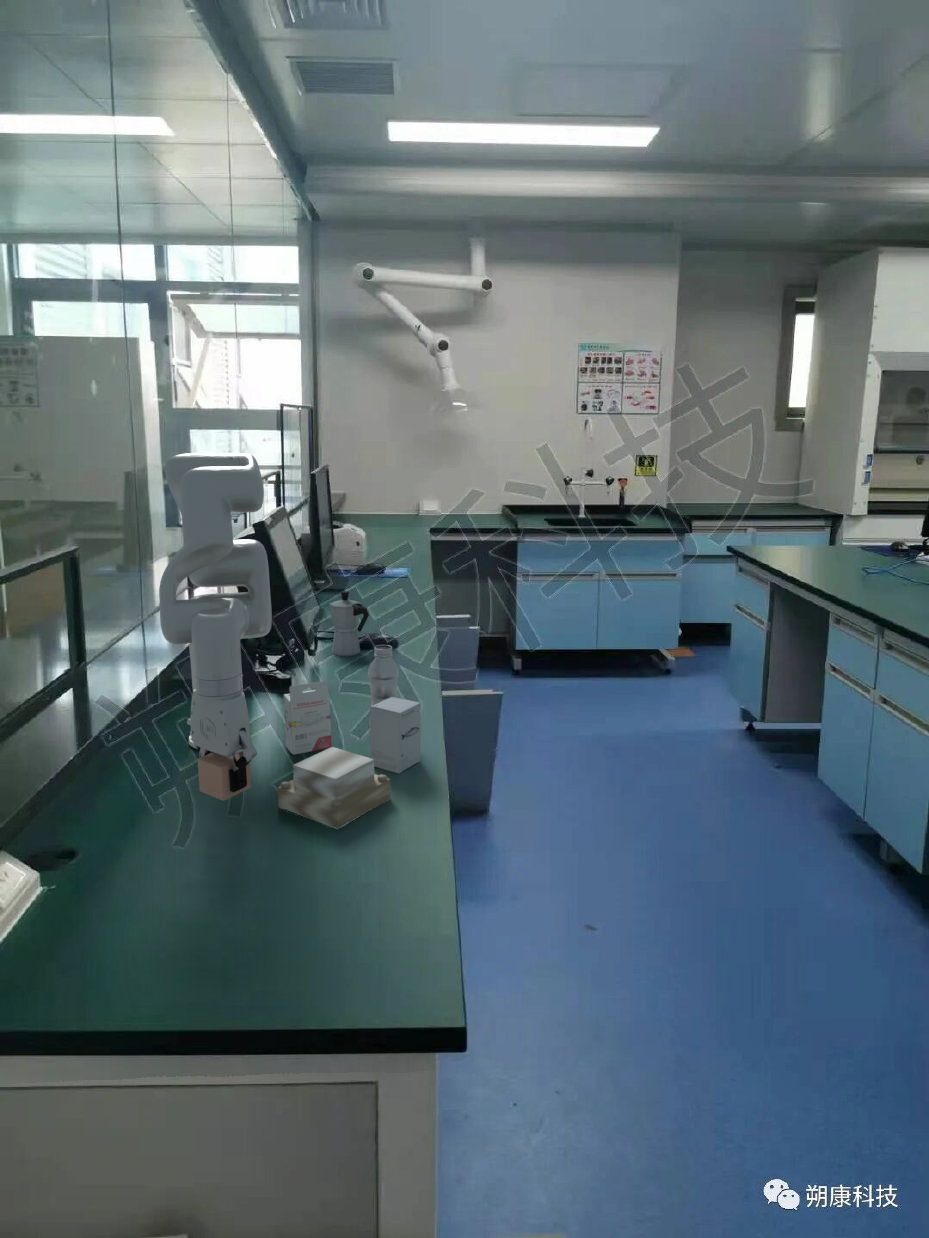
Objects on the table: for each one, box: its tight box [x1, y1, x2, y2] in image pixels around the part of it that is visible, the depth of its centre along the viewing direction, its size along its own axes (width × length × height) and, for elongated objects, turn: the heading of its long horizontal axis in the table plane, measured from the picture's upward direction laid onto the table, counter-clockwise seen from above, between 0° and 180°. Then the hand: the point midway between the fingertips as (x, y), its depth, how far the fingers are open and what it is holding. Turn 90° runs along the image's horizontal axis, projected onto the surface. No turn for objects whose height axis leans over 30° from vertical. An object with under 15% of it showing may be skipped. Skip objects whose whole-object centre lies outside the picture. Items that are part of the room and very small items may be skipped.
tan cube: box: [196, 752, 252, 802], centre depth 142 cm, size 6×6×6 cm
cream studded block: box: [277, 746, 391, 828], centre depth 149 cm, size 14×14×8 cm
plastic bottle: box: [367, 644, 400, 729], centre depth 178 cm, size 6×7×20 cm
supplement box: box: [369, 697, 421, 774], centre depth 165 cm, size 7×7×13 cm
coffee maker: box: [328, 590, 370, 657], centre depth 240 cm, size 15×9×18 cm, turn 55°
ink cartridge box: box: [283, 680, 333, 756], centre depth 172 cm, size 9×5×15 cm, turn 117°
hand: (225, 782), depth 142 cm, fingers closed on tan cube, 6 cm apart
